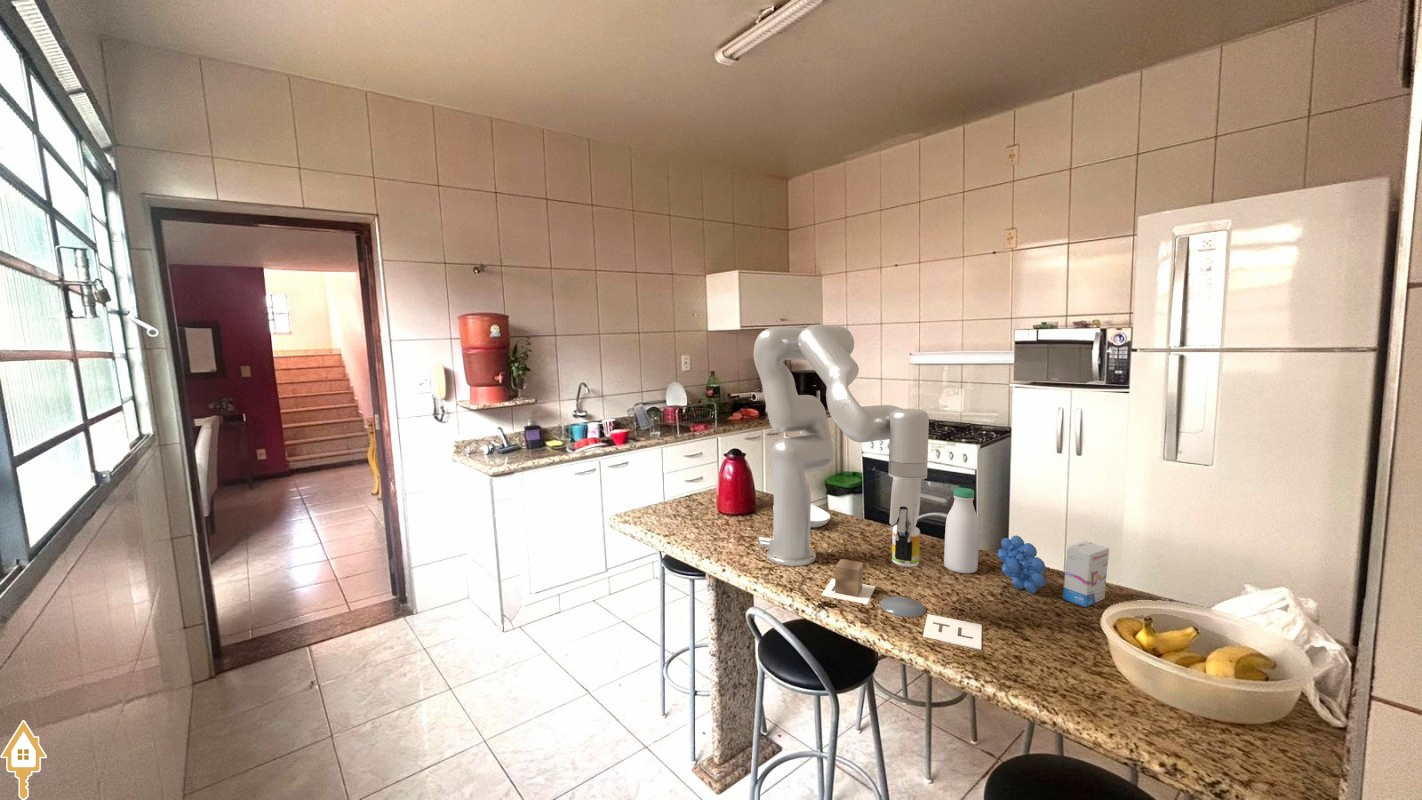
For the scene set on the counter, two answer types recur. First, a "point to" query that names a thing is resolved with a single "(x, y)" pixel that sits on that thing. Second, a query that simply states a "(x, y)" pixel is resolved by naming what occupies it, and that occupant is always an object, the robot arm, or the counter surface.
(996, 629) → the counter surface
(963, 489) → the milk bottle
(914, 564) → the supplement bottle
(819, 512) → the spoon rest
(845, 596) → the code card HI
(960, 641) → the card
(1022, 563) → the grapes
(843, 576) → the walnut block
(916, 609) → the gray round coaster
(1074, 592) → the ink box
